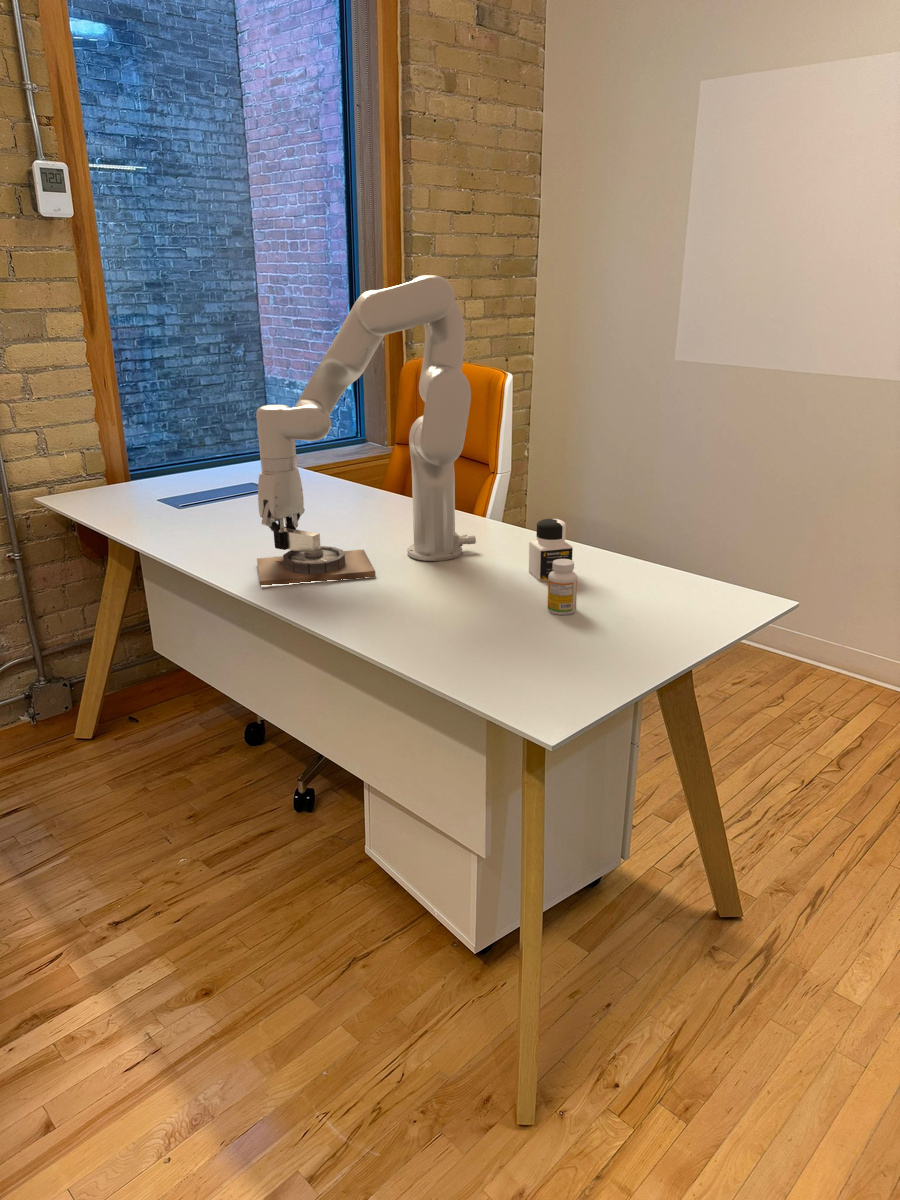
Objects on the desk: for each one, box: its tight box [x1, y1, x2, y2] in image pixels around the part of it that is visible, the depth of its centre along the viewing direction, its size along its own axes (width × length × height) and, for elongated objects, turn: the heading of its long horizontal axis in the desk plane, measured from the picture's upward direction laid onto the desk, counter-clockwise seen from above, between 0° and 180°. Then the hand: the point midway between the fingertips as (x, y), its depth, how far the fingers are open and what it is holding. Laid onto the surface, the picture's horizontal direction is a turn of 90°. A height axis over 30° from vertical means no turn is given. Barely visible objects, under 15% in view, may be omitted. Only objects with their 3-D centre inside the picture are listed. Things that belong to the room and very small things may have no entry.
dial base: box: [256, 545, 376, 585], centre depth 187 cm, size 24×16×4 cm
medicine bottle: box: [528, 518, 574, 583], centre depth 181 cm, size 7×7×12 cm
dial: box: [284, 526, 337, 563], centre depth 187 cm, size 15×10×7 cm, turn 58°
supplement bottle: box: [547, 559, 578, 616], centre depth 162 cm, size 5×5×10 cm
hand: (286, 546), depth 190 cm, fingers closed on dial, 2 cm apart
